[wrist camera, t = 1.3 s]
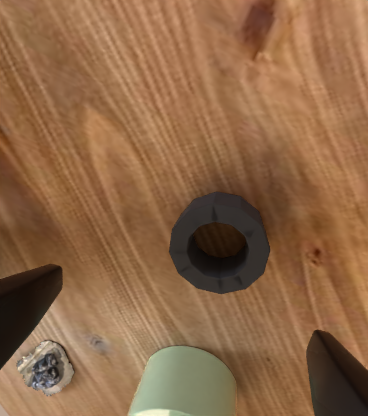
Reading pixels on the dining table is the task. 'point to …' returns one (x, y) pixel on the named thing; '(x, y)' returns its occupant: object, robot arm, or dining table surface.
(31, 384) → the blueberry tart
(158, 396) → the green cylinder with peg
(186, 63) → the dining table surface
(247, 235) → the rubber ring
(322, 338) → the robot arm
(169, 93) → the dining table surface
